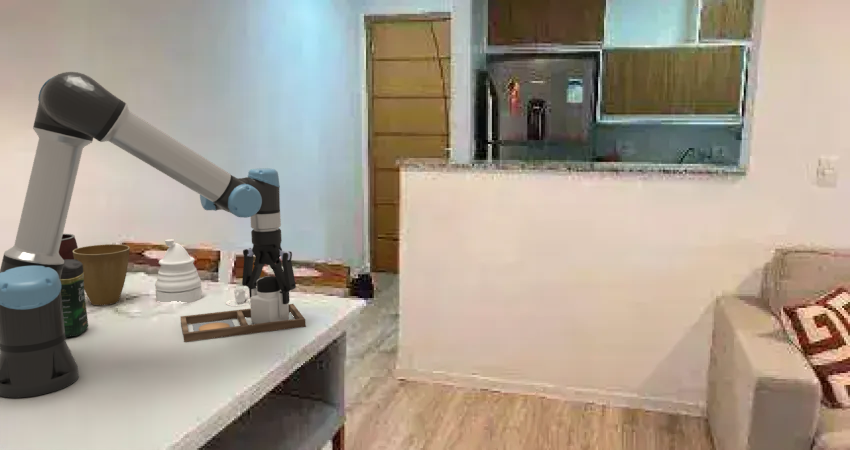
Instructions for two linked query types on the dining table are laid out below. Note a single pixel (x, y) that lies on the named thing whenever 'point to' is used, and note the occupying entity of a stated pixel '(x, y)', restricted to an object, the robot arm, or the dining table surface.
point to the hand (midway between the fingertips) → (270, 313)
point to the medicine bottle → (266, 301)
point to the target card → (213, 325)
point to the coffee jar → (73, 298)
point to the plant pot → (103, 271)
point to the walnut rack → (236, 330)
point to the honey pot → (177, 276)
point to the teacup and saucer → (239, 297)
